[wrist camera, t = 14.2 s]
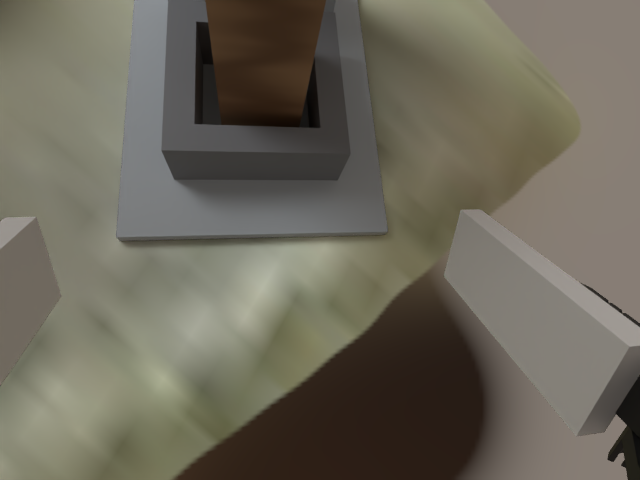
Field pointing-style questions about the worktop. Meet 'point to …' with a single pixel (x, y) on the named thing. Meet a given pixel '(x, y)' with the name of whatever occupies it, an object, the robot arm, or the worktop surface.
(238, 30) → the peg
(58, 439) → the worktop surface
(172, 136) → the awning socket
